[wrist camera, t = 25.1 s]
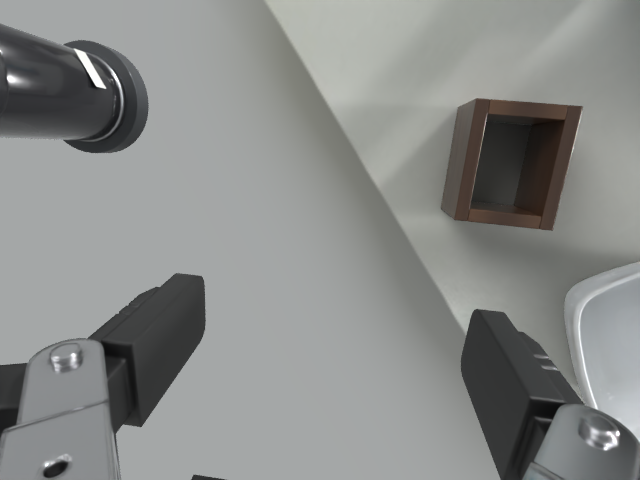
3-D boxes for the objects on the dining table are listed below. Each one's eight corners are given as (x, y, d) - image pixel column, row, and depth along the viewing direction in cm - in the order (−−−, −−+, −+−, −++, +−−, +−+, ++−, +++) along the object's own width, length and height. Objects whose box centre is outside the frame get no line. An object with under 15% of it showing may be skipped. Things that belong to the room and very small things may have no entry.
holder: (440, 208, 42) (454, 219, 35) (457, 107, 39) (476, 98, 33) (522, 217, 41) (552, 230, 34) (546, 113, 38) (583, 106, 32)
